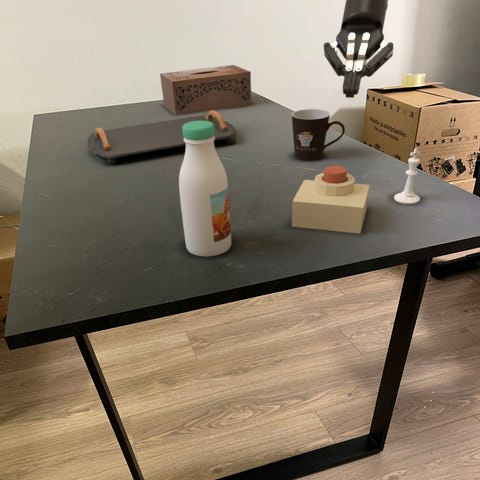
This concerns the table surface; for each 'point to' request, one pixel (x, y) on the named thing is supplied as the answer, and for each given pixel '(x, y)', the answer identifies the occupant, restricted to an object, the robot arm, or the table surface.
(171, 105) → the tissue box cover
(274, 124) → the table surface
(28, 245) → the table surface
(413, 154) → the chess piece
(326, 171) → the lid button
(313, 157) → the coffee mug
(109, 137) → the serving tray
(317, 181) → the button base
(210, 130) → the milk bottle
